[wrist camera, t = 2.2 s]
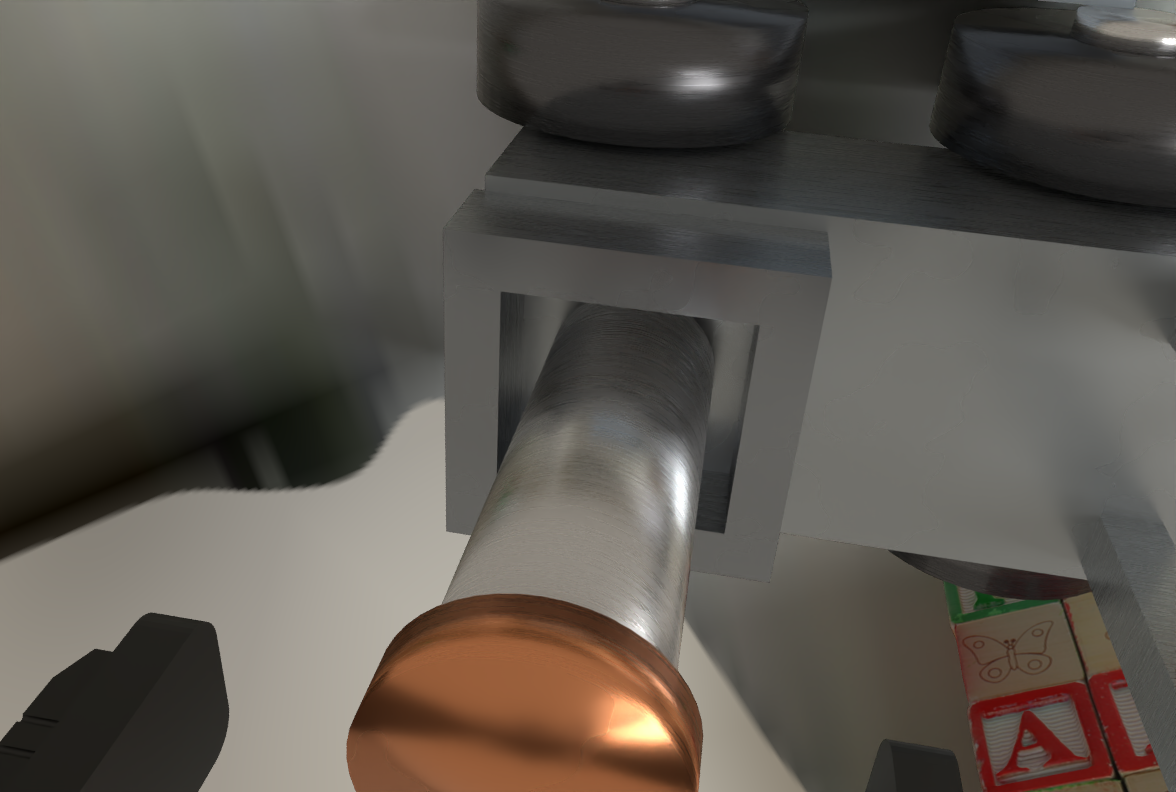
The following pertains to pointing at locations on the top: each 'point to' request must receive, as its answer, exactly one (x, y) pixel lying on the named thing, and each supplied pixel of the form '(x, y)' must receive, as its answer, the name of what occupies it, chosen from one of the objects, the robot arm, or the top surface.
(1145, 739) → the stack of blocks
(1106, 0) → the tray
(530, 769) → the pin
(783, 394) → the trolley
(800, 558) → the top surface
